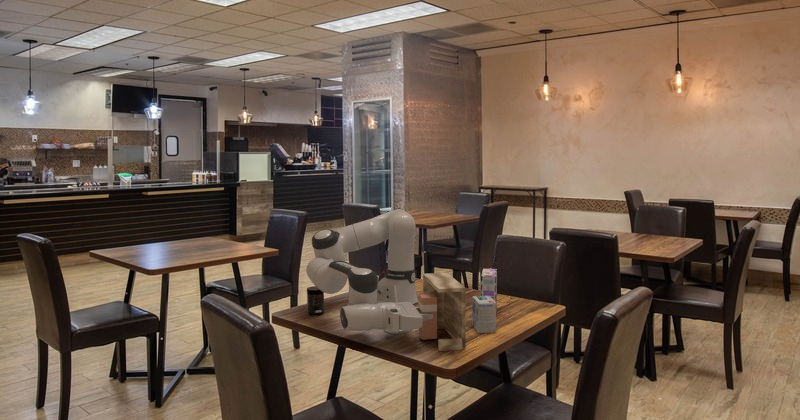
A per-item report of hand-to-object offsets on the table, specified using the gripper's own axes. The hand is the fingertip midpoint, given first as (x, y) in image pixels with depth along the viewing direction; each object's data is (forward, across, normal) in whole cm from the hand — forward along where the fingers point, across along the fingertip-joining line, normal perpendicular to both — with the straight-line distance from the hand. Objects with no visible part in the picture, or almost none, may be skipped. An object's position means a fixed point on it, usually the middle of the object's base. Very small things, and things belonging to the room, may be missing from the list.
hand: (430, 313), depth 192 cm
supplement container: (-37, -40, -10) cm, 56 cm away
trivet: (-9, -13, -9) cm, 18 cm away
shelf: (+5, 0, -9) cm, 10 cm away
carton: (-1, 0, -8) cm, 8 cm away
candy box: (+30, -27, -9) cm, 42 cm away
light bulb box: (+22, -8, -9) cm, 25 cm away
